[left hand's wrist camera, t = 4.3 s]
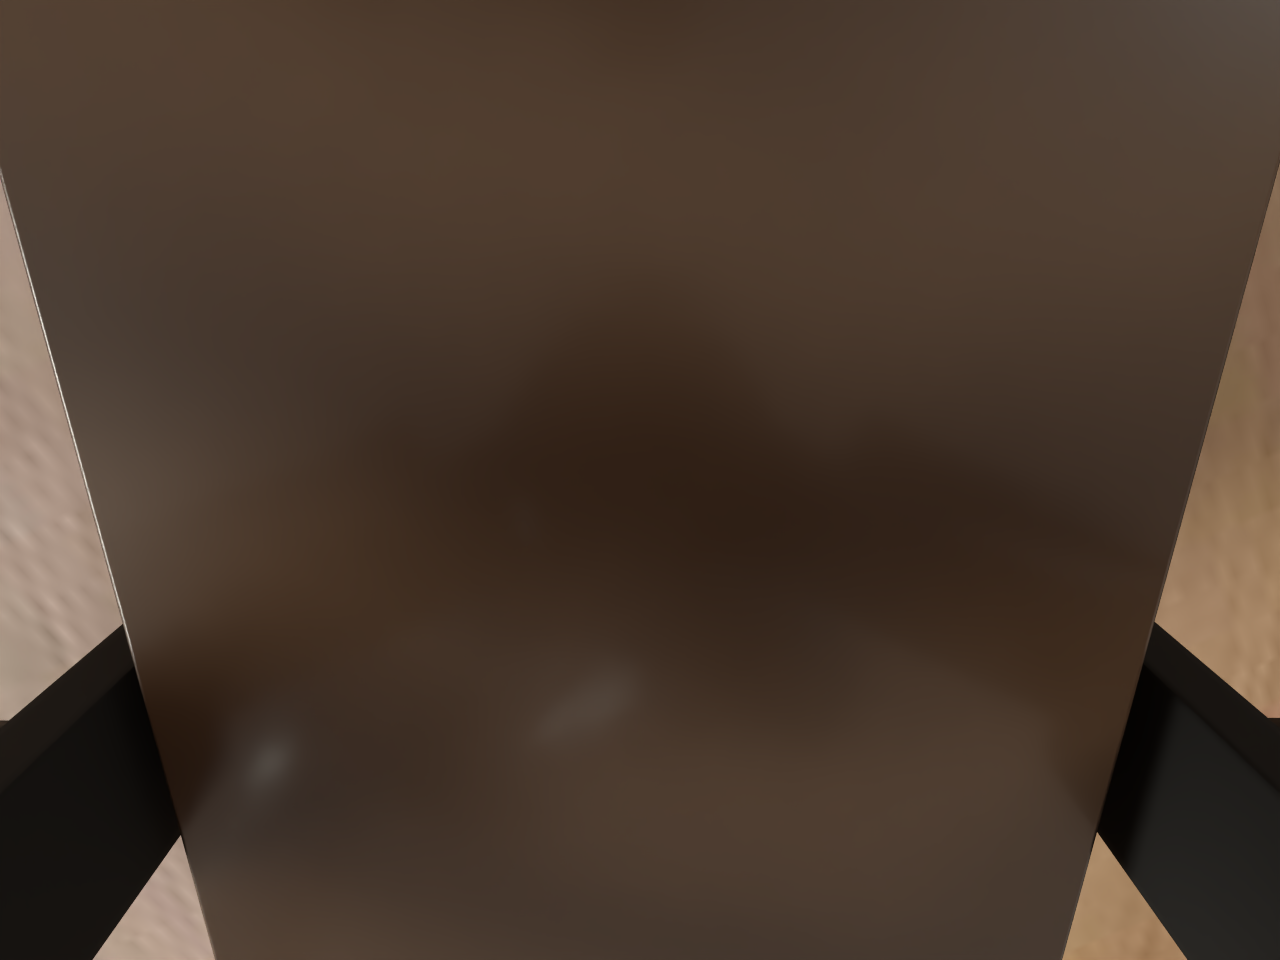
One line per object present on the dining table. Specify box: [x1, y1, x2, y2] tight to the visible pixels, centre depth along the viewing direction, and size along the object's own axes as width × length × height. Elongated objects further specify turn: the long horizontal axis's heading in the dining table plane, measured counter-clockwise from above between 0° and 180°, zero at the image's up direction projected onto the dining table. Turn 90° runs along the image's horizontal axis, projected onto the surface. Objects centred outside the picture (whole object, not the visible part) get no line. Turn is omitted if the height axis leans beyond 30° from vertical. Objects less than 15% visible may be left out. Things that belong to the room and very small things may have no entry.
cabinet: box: [0, 0, 1280, 960], centre depth 12 cm, size 16×11×10 cm
